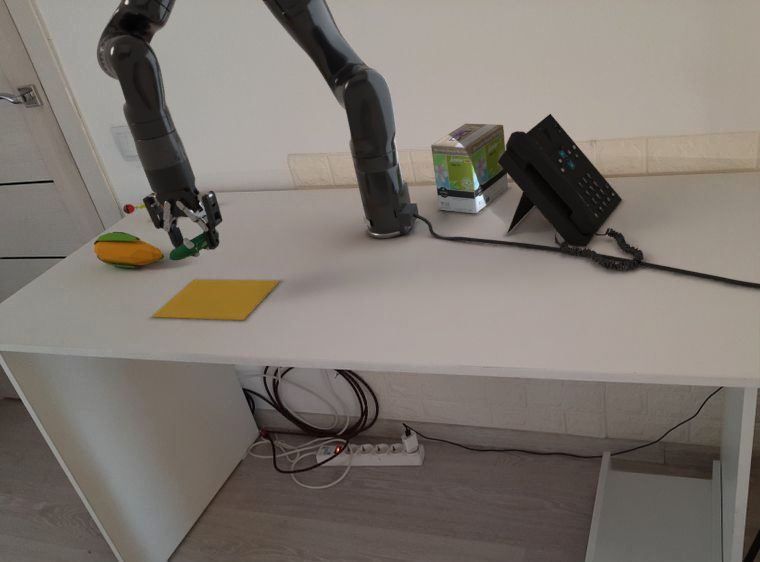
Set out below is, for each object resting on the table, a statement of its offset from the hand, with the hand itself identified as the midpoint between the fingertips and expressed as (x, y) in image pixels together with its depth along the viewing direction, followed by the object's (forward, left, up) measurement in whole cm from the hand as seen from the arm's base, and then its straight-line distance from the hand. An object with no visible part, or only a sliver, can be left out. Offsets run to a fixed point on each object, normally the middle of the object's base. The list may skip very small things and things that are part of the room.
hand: (197, 247), depth 126 cm
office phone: (-66, -28, -11) cm, 73 cm away
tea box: (-40, -45, -11) cm, 61 cm away
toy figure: (+40, -39, -11) cm, 57 cm away
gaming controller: (0, 0, -1) cm, 1 cm away
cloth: (0, 0, -11) cm, 11 cm away
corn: (+30, -14, -11) cm, 35 cm away
